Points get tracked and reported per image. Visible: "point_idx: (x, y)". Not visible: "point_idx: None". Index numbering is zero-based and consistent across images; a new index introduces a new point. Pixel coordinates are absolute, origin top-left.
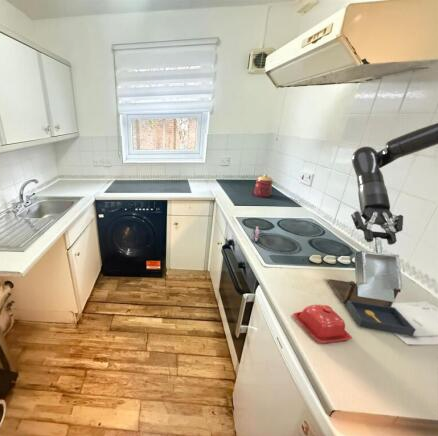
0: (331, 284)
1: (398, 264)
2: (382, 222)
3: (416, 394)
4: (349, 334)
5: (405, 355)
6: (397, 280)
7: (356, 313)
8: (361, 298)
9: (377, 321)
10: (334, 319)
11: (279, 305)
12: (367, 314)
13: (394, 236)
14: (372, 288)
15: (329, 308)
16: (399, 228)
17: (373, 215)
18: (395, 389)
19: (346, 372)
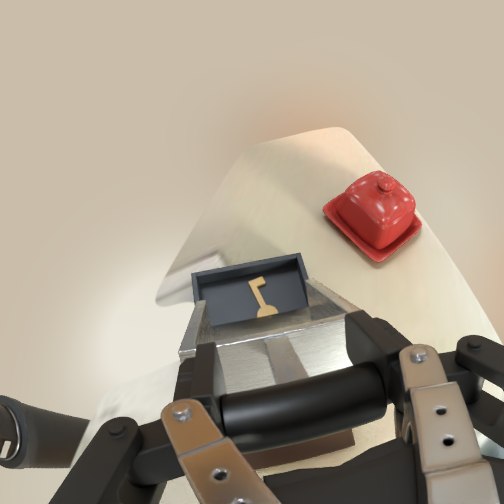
0: None
1: (192, 329)
2: (298, 474)
3: (250, 164)
4: (326, 214)
5: (234, 222)
6: (205, 313)
7: (307, 276)
8: None
9: (257, 289)
10: (367, 179)
11: (446, 252)
12: (274, 307)
13: (185, 385)
14: (271, 325)
15: (384, 177)
16: (120, 435)
17: (470, 465)
18: (274, 160)
19: (330, 159)
